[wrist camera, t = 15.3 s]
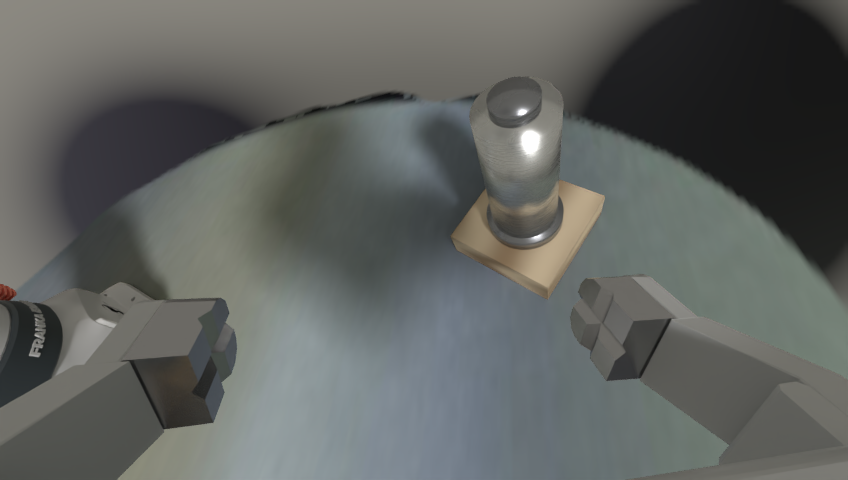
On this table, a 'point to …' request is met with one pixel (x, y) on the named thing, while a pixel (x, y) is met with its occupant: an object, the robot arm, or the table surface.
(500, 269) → the stand
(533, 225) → the cylinder
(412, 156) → the table surface
